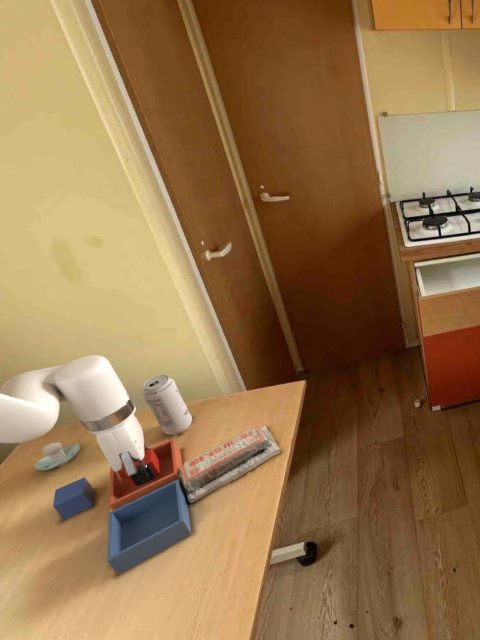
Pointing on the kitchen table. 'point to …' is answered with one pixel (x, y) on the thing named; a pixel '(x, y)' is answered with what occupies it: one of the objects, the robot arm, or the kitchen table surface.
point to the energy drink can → (167, 404)
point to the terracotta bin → (169, 472)
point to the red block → (149, 459)
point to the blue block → (73, 498)
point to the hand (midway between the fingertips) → (145, 472)
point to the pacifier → (56, 455)
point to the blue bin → (147, 526)
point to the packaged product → (226, 462)
